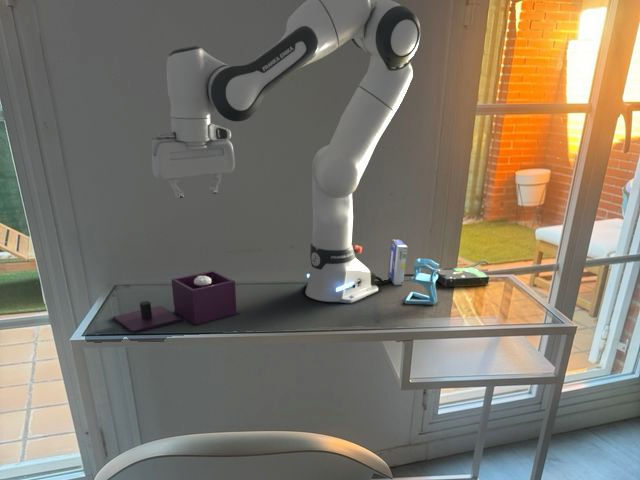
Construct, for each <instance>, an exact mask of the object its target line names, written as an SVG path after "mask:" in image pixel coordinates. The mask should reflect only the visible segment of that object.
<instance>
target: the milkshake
mask: <svg viewBox="0 0 640 480" xmlns="http://www.w3.org/2000/svg"><path fill="white" fill-rule="evenodd" d="M212 277H213V276H212ZM194 285H195V289H197V288H202V287H206V286H211V285H212V279H211V278H209V277H207V276H198V277H196V278H195V280H194Z"/></svg>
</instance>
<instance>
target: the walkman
mask: <svg viewBox="0 0 640 480" xmlns="http://www.w3.org/2000/svg"><path fill="white" fill-rule="evenodd" d="M407 253H408V246H407V245H406V244H405V243H404V242H403V241H402V240H401V239H391V240H390V251H389V261H388V272H387V278H388V279H389V278H390V277H391V281H390V282H392V284H393V285H394V286H403V285H404V281H405V277H404V274H406V273H405V271H406V263H407Z"/></svg>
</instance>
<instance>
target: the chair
mask: <svg viewBox="0 0 640 480" xmlns="http://www.w3.org/2000/svg"><path fill="white" fill-rule="evenodd" d="M429 264H430V265H429ZM431 265H432V266H434V268H433V267H432V266H431ZM439 266H440V264H439V263H437V262H435V261H433V260H432V259H430V258H416V259H415V261H414V263H413V274H414V276H411V279H410V283H416V284H419V285H422V286H423V287H424V288H425V290H426V293H427V295H425V294H421V293H418V292H415V291H411V292H410V293H409V294H408V296H407V297H406V298H405V301H404V302H405V304H407V305H409V304H411V305H432V306H435V305H436V303H437V302H438V296H437V289H436V281H438V280H437V279H438V275H436V271H437V269H439ZM421 269H422V270H423V269H424V270H427V271H429V272H430V273H431V275H429V274H423V272H421ZM412 297H416V298H419V299H411V298H412Z"/></svg>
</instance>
